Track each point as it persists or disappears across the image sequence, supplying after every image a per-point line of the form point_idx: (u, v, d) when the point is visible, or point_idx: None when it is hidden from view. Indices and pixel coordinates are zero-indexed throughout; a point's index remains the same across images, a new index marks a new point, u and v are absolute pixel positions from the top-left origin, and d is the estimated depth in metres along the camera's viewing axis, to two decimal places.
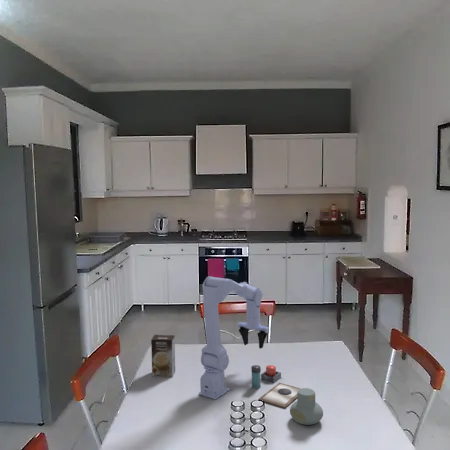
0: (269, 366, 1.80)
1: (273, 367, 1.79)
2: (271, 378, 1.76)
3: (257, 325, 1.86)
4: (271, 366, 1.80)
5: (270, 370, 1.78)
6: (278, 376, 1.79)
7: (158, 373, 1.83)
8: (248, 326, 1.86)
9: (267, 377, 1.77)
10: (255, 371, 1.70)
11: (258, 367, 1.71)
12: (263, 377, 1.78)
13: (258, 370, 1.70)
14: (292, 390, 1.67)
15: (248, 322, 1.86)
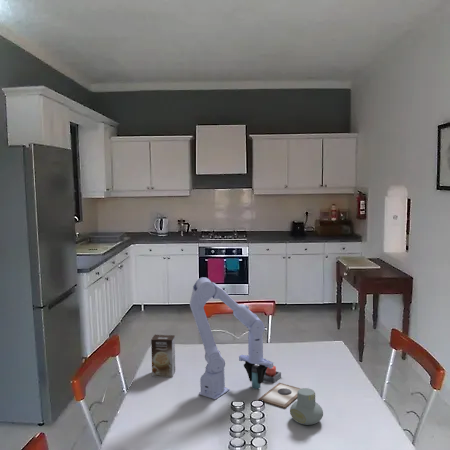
0: None
1: (273, 367, 1.79)
2: (271, 378, 1.76)
3: (260, 359, 1.69)
4: None
5: (270, 370, 1.78)
6: (278, 376, 1.79)
7: (158, 373, 1.83)
8: (250, 360, 1.70)
9: (267, 377, 1.77)
10: (255, 371, 1.70)
11: None
12: None
13: None
14: (292, 390, 1.67)
15: (250, 356, 1.69)
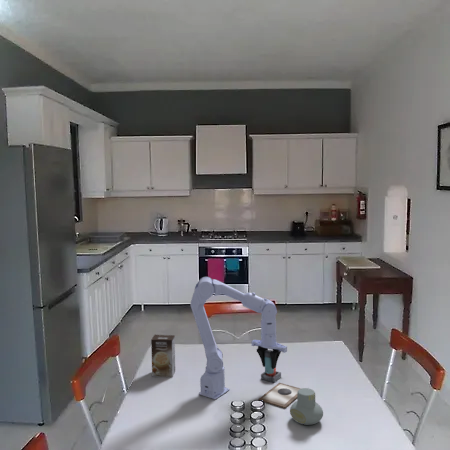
0: None
1: None
2: (271, 378, 1.76)
3: (273, 344, 1.66)
4: None
5: None
6: (278, 376, 1.79)
7: (158, 373, 1.83)
8: (263, 345, 1.66)
9: (267, 377, 1.77)
10: (269, 356, 1.67)
11: None
12: (263, 377, 1.78)
13: None
14: (292, 390, 1.67)
15: (263, 340, 1.66)
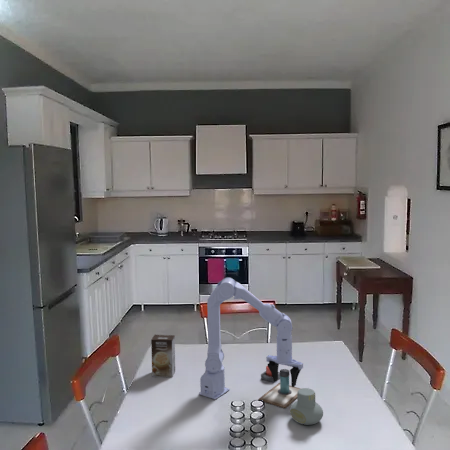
0: None
1: None
2: (271, 378, 1.76)
3: (289, 360, 1.63)
4: None
5: None
6: (278, 376, 1.79)
7: (158, 373, 1.83)
8: (279, 361, 1.63)
9: (267, 377, 1.77)
10: (284, 375, 1.64)
11: (287, 371, 1.65)
12: (263, 377, 1.78)
13: (287, 374, 1.64)
14: (292, 390, 1.67)
15: (279, 357, 1.63)
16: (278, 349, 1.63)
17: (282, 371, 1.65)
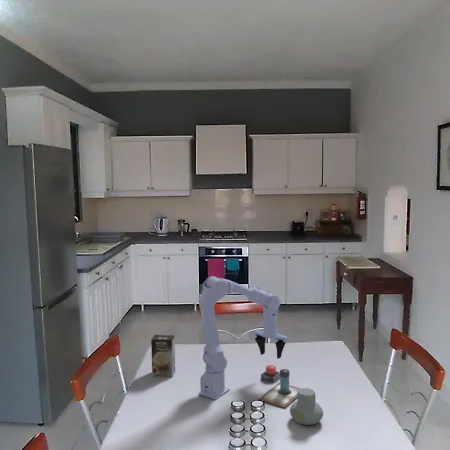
0: (269, 366, 1.80)
1: (273, 367, 1.79)
2: (271, 378, 1.76)
3: (275, 334, 1.76)
4: (271, 366, 1.80)
5: (270, 370, 1.78)
6: (278, 376, 1.79)
7: (158, 373, 1.83)
8: (265, 335, 1.76)
9: (267, 377, 1.77)
10: (284, 375, 1.64)
11: (287, 371, 1.65)
12: (263, 377, 1.78)
13: (287, 374, 1.64)
14: (292, 390, 1.67)
15: (265, 331, 1.76)
16: (264, 324, 1.76)
17: (282, 371, 1.65)
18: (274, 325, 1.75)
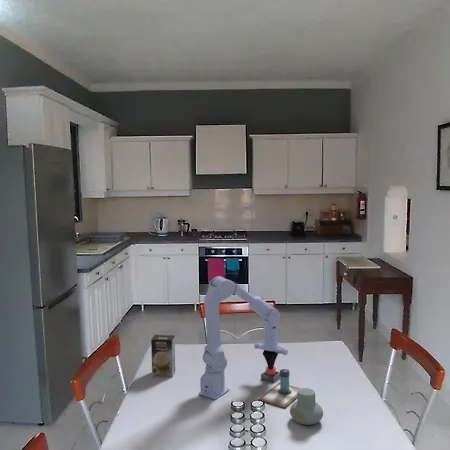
0: None
1: (273, 368, 1.79)
2: (271, 378, 1.76)
3: (275, 347, 1.76)
4: None
5: (270, 371, 1.78)
6: (278, 376, 1.79)
7: (158, 373, 1.83)
8: (265, 348, 1.77)
9: (267, 377, 1.77)
10: (284, 375, 1.64)
11: (287, 371, 1.65)
12: (263, 377, 1.78)
13: (287, 374, 1.64)
14: (292, 390, 1.67)
15: (265, 343, 1.77)
16: (265, 336, 1.77)
17: (282, 371, 1.65)
18: (274, 338, 1.76)
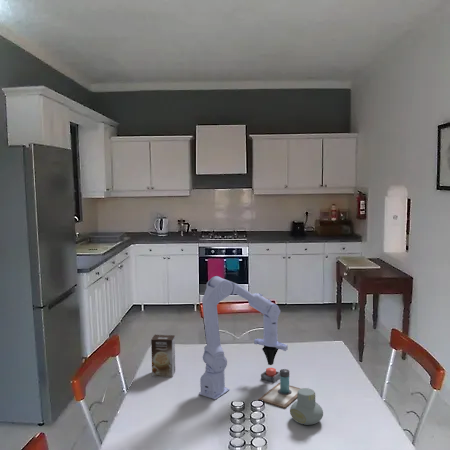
0: (269, 368, 1.80)
1: (273, 369, 1.79)
2: (271, 378, 1.76)
3: (275, 342, 1.76)
4: (271, 368, 1.80)
5: (270, 372, 1.78)
6: (278, 376, 1.79)
7: (158, 373, 1.83)
8: (265, 343, 1.77)
9: (267, 377, 1.77)
10: (284, 375, 1.64)
11: (287, 371, 1.65)
12: (263, 377, 1.78)
13: (287, 374, 1.64)
14: (292, 390, 1.67)
15: (265, 339, 1.77)
16: (265, 332, 1.77)
17: (282, 371, 1.65)
18: (274, 333, 1.76)
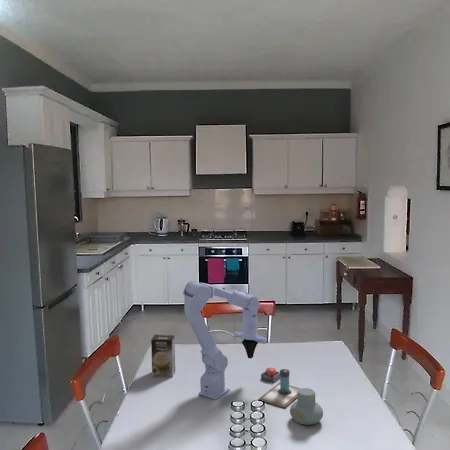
0: (269, 368, 1.80)
1: (273, 369, 1.79)
2: (271, 378, 1.76)
3: (254, 335, 1.75)
4: (271, 368, 1.80)
5: (270, 372, 1.78)
6: (278, 376, 1.79)
7: (158, 373, 1.83)
8: (245, 336, 1.75)
9: (267, 377, 1.77)
10: (284, 375, 1.64)
11: (287, 371, 1.65)
12: (263, 377, 1.78)
13: (287, 374, 1.64)
14: (292, 390, 1.67)
15: (245, 332, 1.75)
16: (244, 325, 1.75)
17: (282, 371, 1.65)
18: (253, 326, 1.74)
